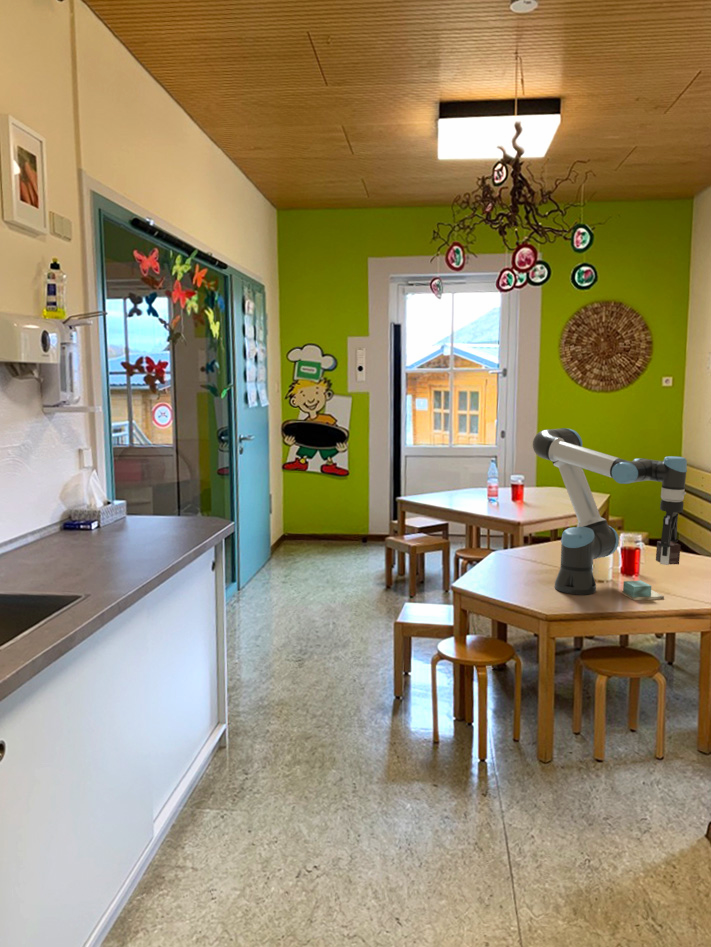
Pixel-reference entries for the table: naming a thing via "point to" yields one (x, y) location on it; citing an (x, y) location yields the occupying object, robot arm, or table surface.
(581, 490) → the robot arm
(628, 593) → the teal and cream block
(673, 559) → the box
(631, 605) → the table surface
